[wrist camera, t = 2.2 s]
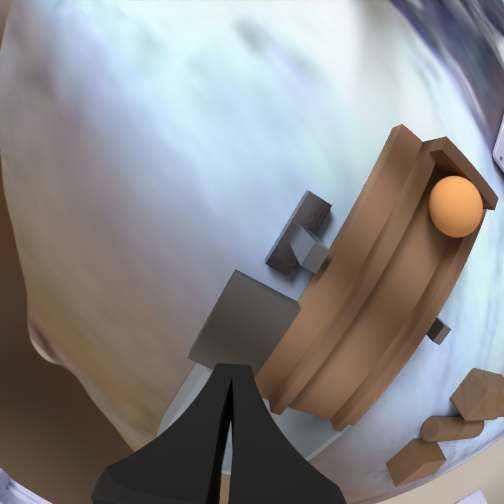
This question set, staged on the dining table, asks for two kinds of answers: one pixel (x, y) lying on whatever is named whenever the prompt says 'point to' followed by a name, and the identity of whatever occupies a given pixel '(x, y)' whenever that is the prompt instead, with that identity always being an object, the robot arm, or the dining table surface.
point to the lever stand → (316, 248)
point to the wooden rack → (352, 293)
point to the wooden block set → (450, 426)
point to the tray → (289, 422)
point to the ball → (455, 206)
